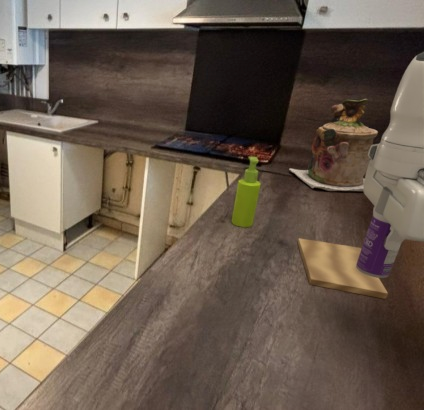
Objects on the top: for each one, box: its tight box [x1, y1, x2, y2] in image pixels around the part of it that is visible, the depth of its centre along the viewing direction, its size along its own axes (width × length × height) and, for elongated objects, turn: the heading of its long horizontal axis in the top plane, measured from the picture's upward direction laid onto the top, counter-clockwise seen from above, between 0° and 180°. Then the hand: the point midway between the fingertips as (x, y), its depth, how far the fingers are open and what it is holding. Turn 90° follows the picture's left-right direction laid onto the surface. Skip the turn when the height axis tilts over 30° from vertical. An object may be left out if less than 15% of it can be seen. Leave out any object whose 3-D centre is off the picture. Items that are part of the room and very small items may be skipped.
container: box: [356, 187, 403, 279], centre depth 60 cm, size 5×5×15 cm
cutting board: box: [297, 237, 389, 300], centre depth 85 cm, size 14×20×2 cm
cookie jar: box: [288, 98, 379, 192], centre depth 134 cm, size 25×25×32 cm
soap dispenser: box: [230, 156, 262, 228], centre depth 104 cm, size 6×7×20 cm
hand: (383, 239), depth 60 cm, fingers closed on container, 4 cm apart
